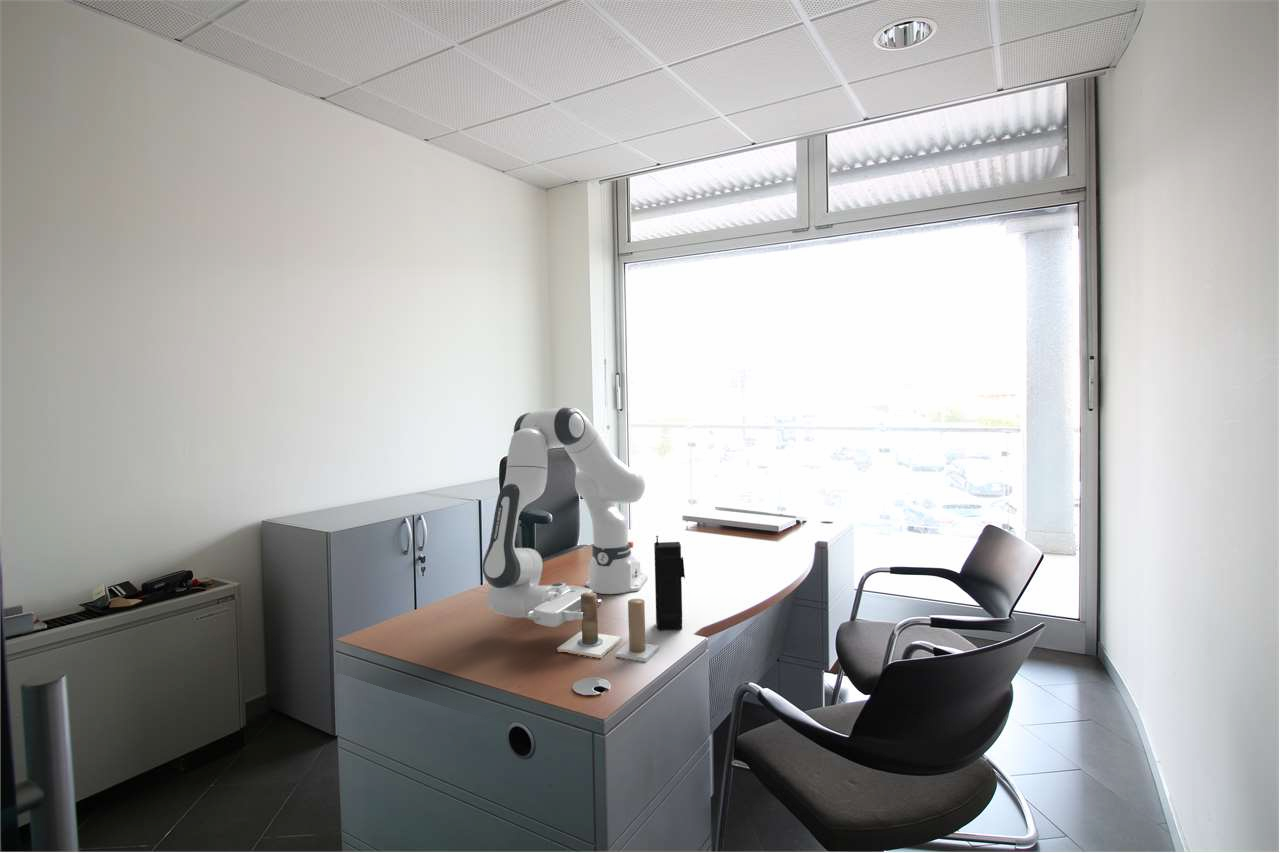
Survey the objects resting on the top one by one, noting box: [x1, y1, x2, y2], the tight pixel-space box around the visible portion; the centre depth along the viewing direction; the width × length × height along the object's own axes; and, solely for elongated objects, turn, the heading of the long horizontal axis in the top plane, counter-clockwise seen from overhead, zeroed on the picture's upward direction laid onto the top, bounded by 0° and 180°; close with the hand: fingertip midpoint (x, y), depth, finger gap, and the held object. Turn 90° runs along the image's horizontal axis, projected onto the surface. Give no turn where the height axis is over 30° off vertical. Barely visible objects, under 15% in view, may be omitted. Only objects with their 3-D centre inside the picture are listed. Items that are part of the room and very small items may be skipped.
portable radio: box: [653, 535, 686, 631], centre depth 183 cm, size 8×6×25 cm
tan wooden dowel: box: [615, 598, 660, 663], centre depth 166 cm, size 8×8×13 cm
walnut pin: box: [581, 592, 599, 645], centre depth 171 cm, size 4×4×12 cm
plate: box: [556, 630, 623, 658], centre depth 171 cm, size 12×12×1 cm
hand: (592, 609), depth 170 cm, fingers open, 8 cm apart
